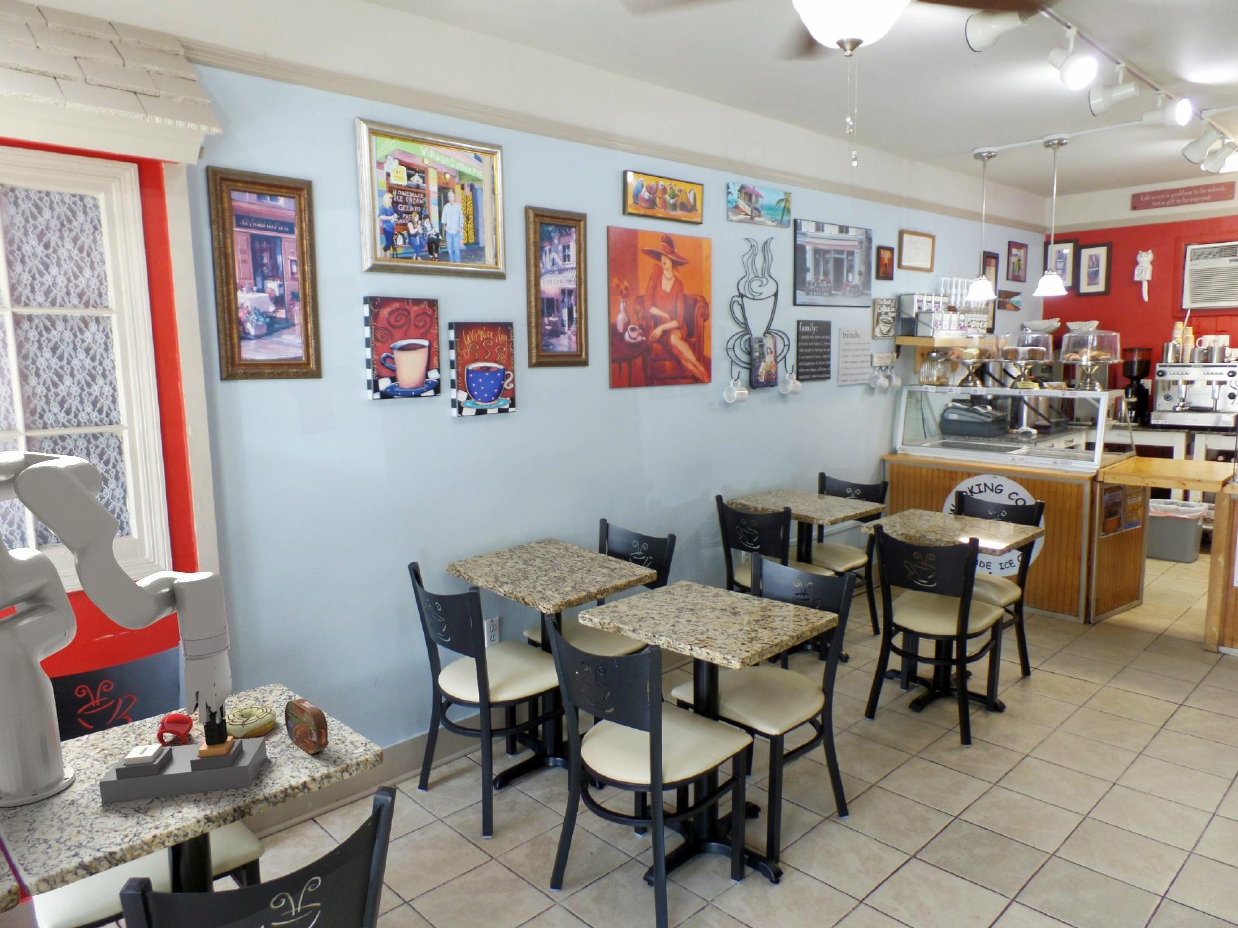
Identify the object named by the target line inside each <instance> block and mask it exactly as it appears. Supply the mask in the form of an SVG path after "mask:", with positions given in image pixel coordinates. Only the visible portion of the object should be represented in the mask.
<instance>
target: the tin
mask: <svg viewBox="0 0 1238 928" xmlns="http://www.w3.org/2000/svg"><path fill="white" fill-rule="evenodd" d="M284 721H285V722H284V723H285V728H286V731H287V734H288V735H287V736H288V737H289V739H290V741H291V742H292V743H293V744H294V745H296V746H297V747H299V748H300V749H302V751H304V752H305V753H307V754H309V755H315V753H316V754H317V753H319V752H322V751H324V750H326V748H327V747H328V744H329V736H328V735H329V734H328V733H329V732H328V731H329V730H328V726H329V725H328V721H327V718H326V716H325V713H324V712H323V709H321V708H319V707H318V706H316V705H315V704H313V703H312V702H310V701H308V700H307V699H305V698H298V699H294V700H288V701H287V703H286V705H285V707H284Z"/></svg>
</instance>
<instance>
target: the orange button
mask: <svg viewBox="0 0 1238 928" xmlns="http://www.w3.org/2000/svg"><path fill="white" fill-rule="evenodd" d="M233 740H234V739H233V736H228V739H227V740H226V742H225V743H224V744H218V745H216V744H215V745H209V746H208V745H206V741H204V742H203V743H204V744H203V743H202V744H203V745H202V746H201V748H200V749H199V750H198V751H199V757H206V756H215V755H224V754H228V752H229V751H230V749H231V748H232V746H233V745H234V741H233Z"/></svg>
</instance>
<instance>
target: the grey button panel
mask: <svg viewBox="0 0 1238 928" xmlns="http://www.w3.org/2000/svg"><path fill="white" fill-rule="evenodd" d="M233 741H234V745H233V746H232V748H231V749H230V751H229V752H228V754H224V755H215V756H206V757H199V751H198V750H199V749H200V748H201V746H202V745H203V744H204V742H202V743H195V744H194V743H193V744H184V745H178V746H177V745H176V746H170V745H169V746H168V745H167V746H162V749H163V752H162V753H161V754H160V755H159V756H158V758H157V759H156V760H155V761H154V762H150V763H141V764H132V765H125V759H124V758H125V757H126V756H127V755H128V754H129V753H130V752H131V751H132V750H130V751H126V753H124V755H123V756H122V757H121V758H119V760H118V761H117V762H116V763H115V765H113V766H112V768H111V769H110V770H108V772H107V773H106V774H105V775H104V776H103V777H102V778H101V779H100V781H98V782H99V792H100V799H101V804H102V805H103V804H104V805H105V804H111V803H120V802H129V801H130V802H131V801H137V800H147V799H155V798H162V797H163V798H164V797H173V796H182V795H190V794H198V793H207V792H217V791H224V790H225V791H226V790H232V789H234V788H235V789H242V788H243V789H244V788H250V787H251V786H252V784H253V782H254V780H255V779H256V777H257V775H258V773H259V771H260V770H261V768H262V766H263V765H264V763H265V761H266V759H267V758H268V754H267V744H266V737H265V736H262V737H252V738H249V739H238V738H237V739H233ZM235 789H234V790H235Z"/></svg>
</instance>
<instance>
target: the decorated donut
mask: <svg viewBox="0 0 1238 928" xmlns="http://www.w3.org/2000/svg"><path fill="white" fill-rule="evenodd" d="M225 718H226V725H227V734H228V736H233V740H234V739H248V738H249V739H250V738H258V737H259V736H263V735H266V734H267V733H268V732H270V731H271V730H272V729H273V728H274V727H275V724H276V721H277V712H276V711H275V709H274V708H272V707H270V706H267V705H263V704H262V705H258V704H256V705H253V704H252V705H246V706H241V707H238V708H237V709H235V710H231V711H229V712H226V716H225ZM225 718H222V719H225Z"/></svg>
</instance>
